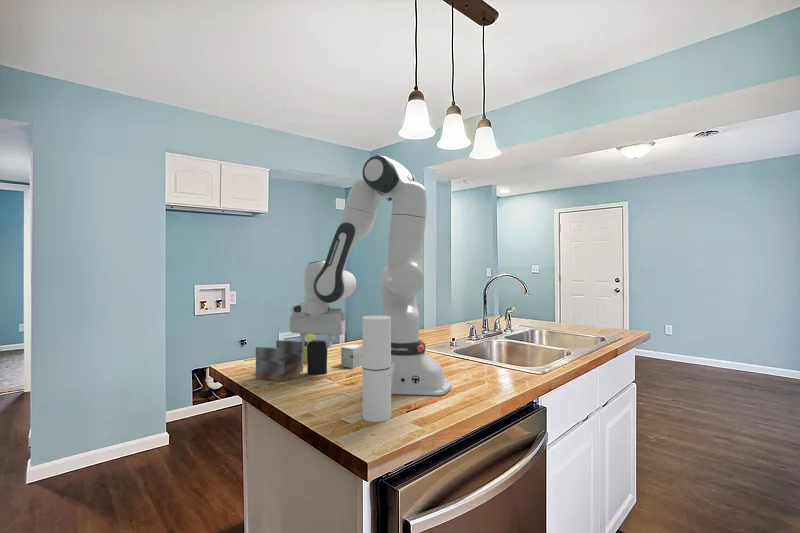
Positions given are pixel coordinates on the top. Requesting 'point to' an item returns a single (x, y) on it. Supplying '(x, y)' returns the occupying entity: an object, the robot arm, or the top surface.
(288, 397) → the top surface
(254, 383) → the top surface
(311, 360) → the battery
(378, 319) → the cylindrical container
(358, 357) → the skincare box
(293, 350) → the cradle
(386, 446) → the top surface
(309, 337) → the tube
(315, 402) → the top surface
